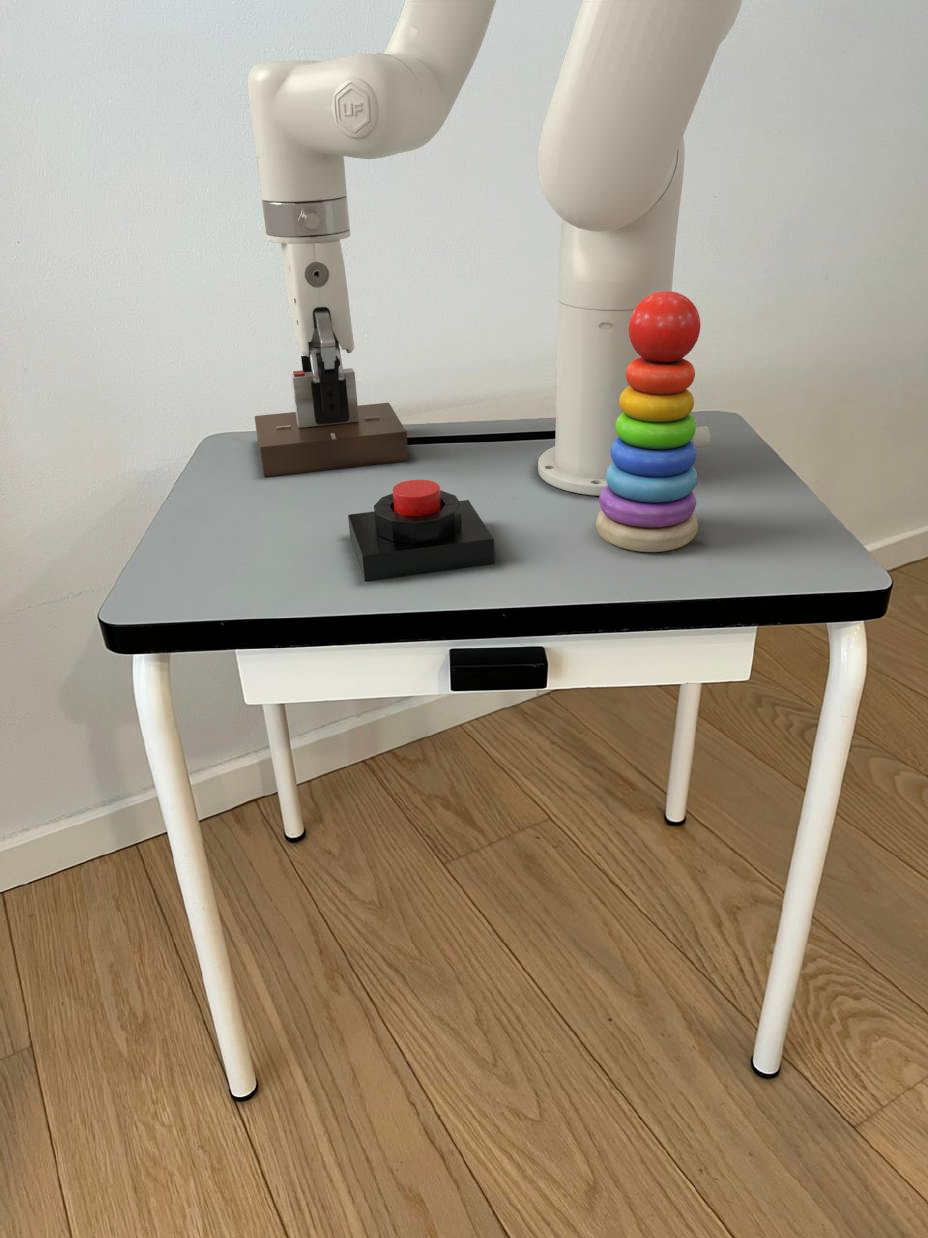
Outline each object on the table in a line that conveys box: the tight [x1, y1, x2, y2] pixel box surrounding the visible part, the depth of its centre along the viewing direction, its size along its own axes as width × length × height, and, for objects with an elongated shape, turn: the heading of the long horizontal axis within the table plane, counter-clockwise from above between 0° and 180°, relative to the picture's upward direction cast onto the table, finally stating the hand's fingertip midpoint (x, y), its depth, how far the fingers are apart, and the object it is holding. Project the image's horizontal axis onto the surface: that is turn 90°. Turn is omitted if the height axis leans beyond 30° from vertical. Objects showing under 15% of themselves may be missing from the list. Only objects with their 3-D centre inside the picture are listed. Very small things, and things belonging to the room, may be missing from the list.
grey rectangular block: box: [290, 367, 359, 428], centre depth 93 cm, size 6×2×5 cm, turn 104°
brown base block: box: [254, 402, 409, 478], centre depth 95 cm, size 14×10×3 cm
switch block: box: [347, 489, 495, 583], centre depth 74 cm, size 10×8×4 cm
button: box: [392, 479, 441, 516], centre depth 72 cm, size 4×4×2 cm
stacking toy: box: [595, 290, 701, 553], centre depth 71 cm, size 8×8×19 cm
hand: (326, 407), depth 93 cm, fingers open, 9 cm apart
